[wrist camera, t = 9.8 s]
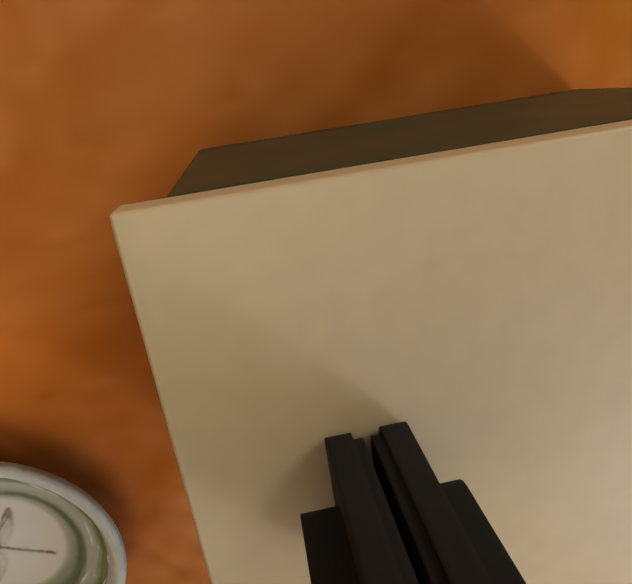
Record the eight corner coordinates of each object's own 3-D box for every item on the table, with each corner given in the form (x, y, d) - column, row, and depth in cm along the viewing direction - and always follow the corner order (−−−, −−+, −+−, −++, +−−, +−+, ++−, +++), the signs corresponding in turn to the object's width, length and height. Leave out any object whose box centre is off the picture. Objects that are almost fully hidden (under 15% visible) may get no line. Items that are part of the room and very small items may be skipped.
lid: (252, 703, 14) (253, 737, 13) (116, 205, 9) (106, 214, 9) (777, 571, 15) (806, 596, 14) (869, 78, 11) (918, 77, 10)
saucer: (140, 612, 25) (130, 664, 23) (-97, 628, 23) (-133, 685, 21) (131, 426, 22) (118, 464, 19) (-142, 431, 20) (-190, 473, 18)
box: (263, 456, 23) (283, 690, 14) (198, 149, 19) (164, 196, 10) (570, 392, 24) (775, 570, 15) (575, 89, 20) (867, 79, 11)
